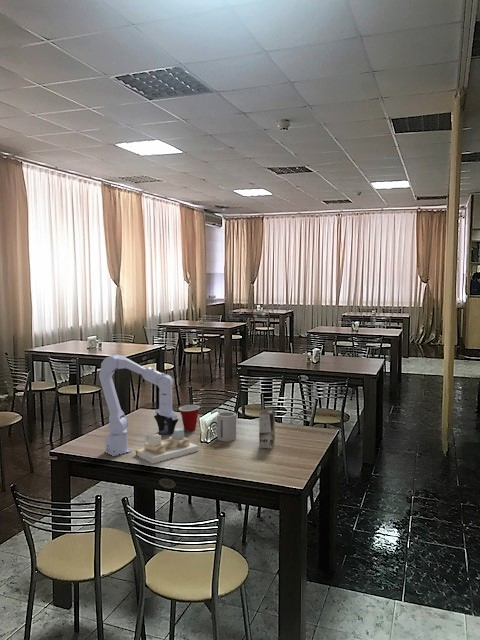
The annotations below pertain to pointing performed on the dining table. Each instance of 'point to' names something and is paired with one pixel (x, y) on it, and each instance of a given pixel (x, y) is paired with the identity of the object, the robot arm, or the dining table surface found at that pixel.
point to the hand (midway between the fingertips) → (166, 432)
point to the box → (164, 428)
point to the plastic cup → (189, 416)
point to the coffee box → (266, 428)
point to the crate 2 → (178, 433)
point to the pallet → (166, 445)
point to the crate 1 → (154, 439)
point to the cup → (226, 426)
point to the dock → (166, 453)
